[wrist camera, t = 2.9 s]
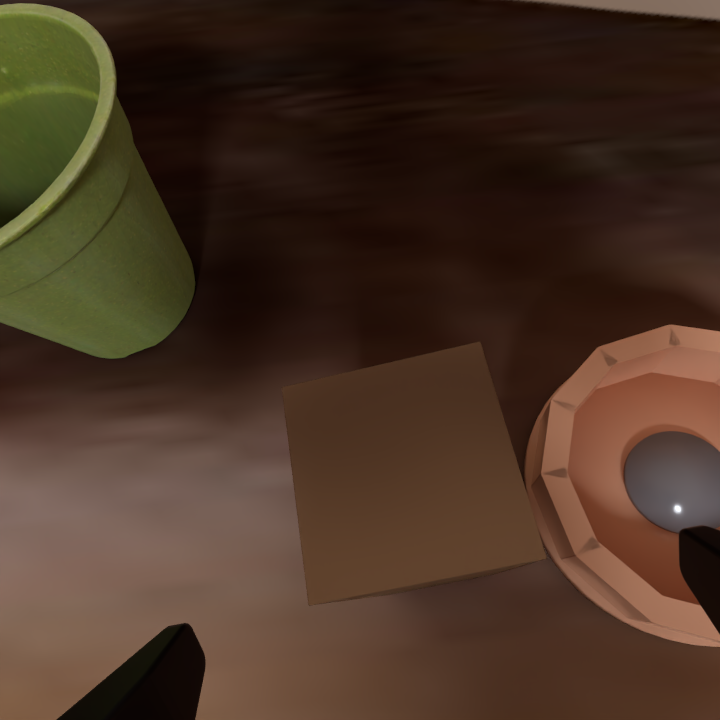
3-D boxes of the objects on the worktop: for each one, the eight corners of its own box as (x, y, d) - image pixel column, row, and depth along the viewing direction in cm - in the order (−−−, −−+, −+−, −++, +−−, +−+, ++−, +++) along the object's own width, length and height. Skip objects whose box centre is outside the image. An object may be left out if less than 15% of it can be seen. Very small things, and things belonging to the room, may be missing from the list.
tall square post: (494, 573, 19) (546, 558, 9) (388, 594, 20) (308, 605, 9) (466, 467, 21) (480, 341, 10) (369, 488, 21) (281, 387, 10)
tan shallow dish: (904, 593, 17) (1000, 595, 14) (596, 682, 18) (625, 701, 15) (728, 325, 22) (773, 283, 19) (484, 401, 22) (489, 372, 19)
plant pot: (-2, 410, 26) (-301, 295, 16) (60, 214, 30) (-140, 26, 20) (226, 406, 24) (56, 271, 14) (255, 197, 28) (144, -21, 18)
